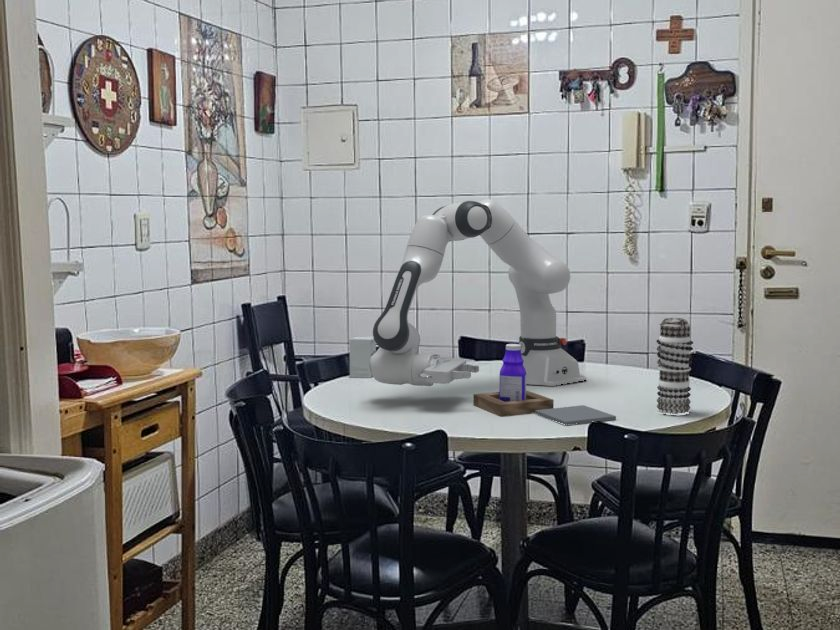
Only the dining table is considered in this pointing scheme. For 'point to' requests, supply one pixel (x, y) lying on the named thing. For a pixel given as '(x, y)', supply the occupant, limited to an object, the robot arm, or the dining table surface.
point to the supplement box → (361, 356)
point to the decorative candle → (674, 366)
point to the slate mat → (575, 414)
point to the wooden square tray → (512, 403)
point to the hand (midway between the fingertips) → (474, 372)
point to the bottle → (512, 375)
